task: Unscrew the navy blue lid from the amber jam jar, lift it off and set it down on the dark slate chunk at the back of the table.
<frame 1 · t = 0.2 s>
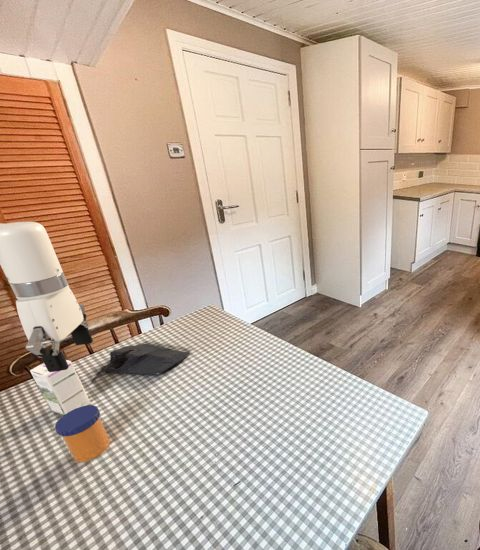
hand: (72, 356, 67), 22 cm above the table, tool pointing down, fingers open, 9 cm apart
lid: (77, 418, 66), point 9 cm above the table, screwed on, not yet turned
syrup box: (72, 409, 81), on the table
dark slate chunk: (148, 363, 99), on the table
jar: (92, 449, 70), on the table
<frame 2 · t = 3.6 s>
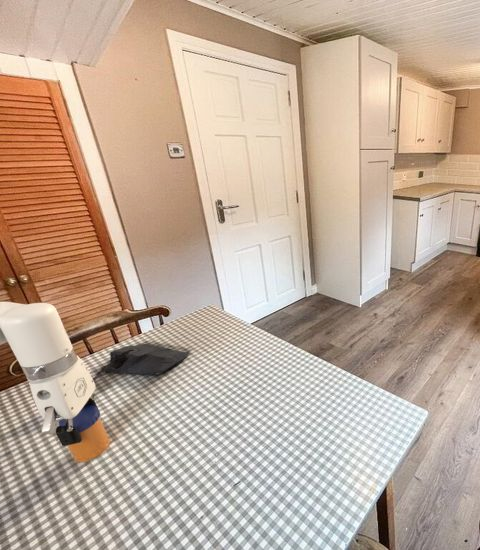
hand: (82, 428, 67), 7 cm above the table, tool pointing down, fingers closed on lid, 7 cm apart
lid: (77, 418, 66), point 9 cm above the table, screwed on, not yet turned, touching gripper
everything else where it was.
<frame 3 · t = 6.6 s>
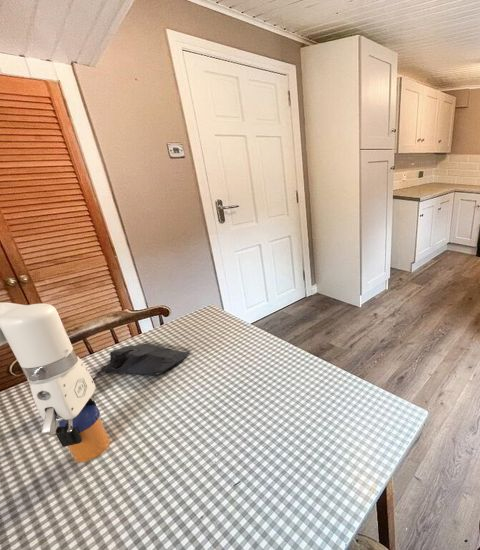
hand: (82, 428, 67), 6 cm above the table, tool pointing down, fingers closed on lid, 7 cm apart
lid: (77, 418, 66), point 10 cm above the table, turned 75° so far, risen 0.1 cm, still on its thread, touching gripper
everything else where it was.
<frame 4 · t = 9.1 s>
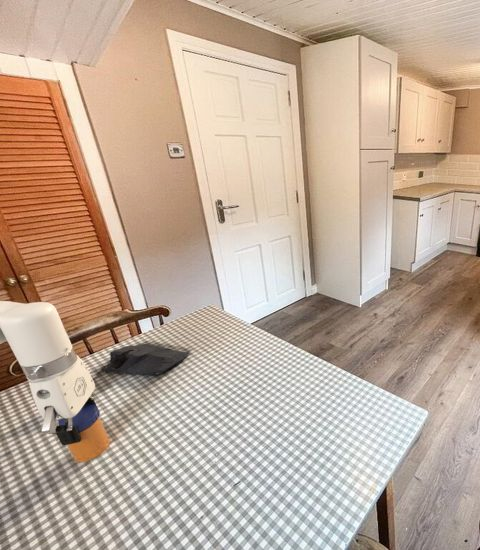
hand: (81, 427, 67), 7 cm above the table, tool pointing down, fingers closed on lid, 7 cm apart
lid: (77, 417, 66), point 10 cm above the table, turned 150° so far, risen 0.2 cm, still on its thread, touching gripper
everything else where it was.
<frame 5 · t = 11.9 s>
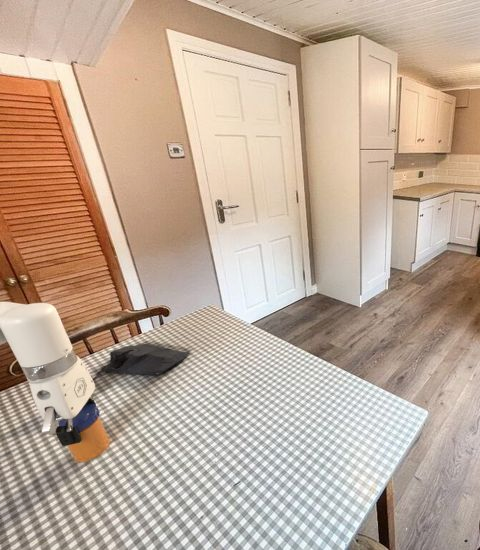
hand: (81, 428, 67), 7 cm above the table, tool pointing down, fingers closed on lid, 7 cm apart
lid: (76, 417, 66), point 10 cm above the table, turned 225° so far, risen 0.3 cm, still on its thread, touching gripper
everything else where it was.
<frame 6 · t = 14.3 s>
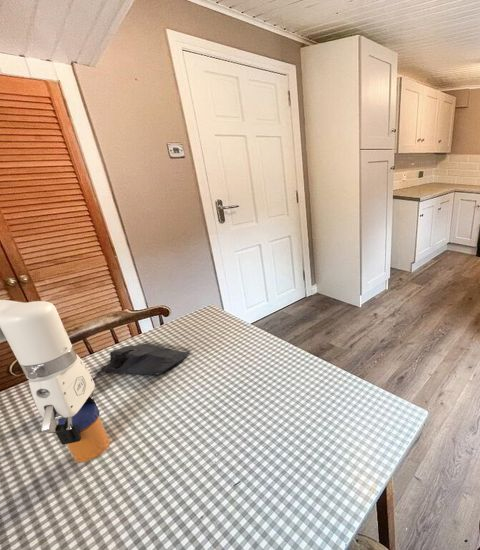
hand: (81, 426, 67), 7 cm above the table, tool pointing down, fingers closed on lid, 7 cm apart
lid: (76, 416, 66), point 10 cm above the table, turned 300° so far, risen 0.4 cm, still on its thread, touching gripper
everything else where it was.
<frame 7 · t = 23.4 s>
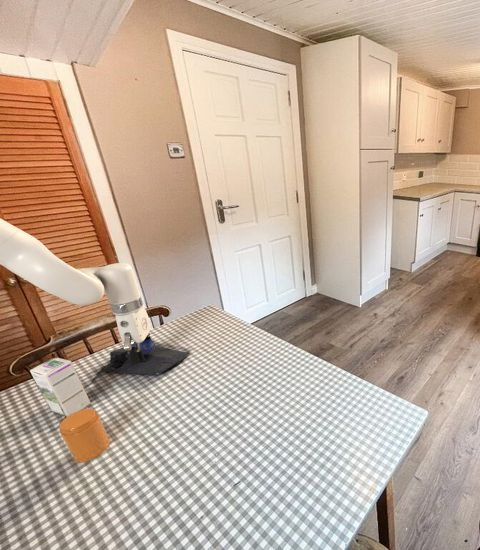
hand: (143, 354, 96), 4 cm above the table, tool pointing down, fingers closed on lid, 7 cm apart
lid: (140, 346, 95), point 7 cm above the table, off its thread, touching gripper
everything else where it was.
when the fingers open (6 cm above the table, at t = 38.2 s): lid drops 3 cm, resting on dark slate chunk.
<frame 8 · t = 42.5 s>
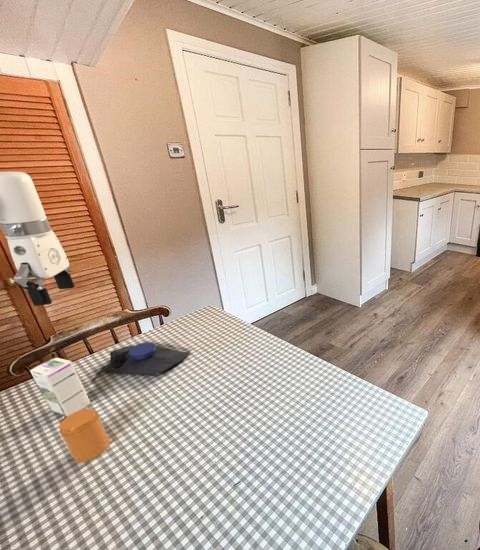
hand: (56, 295, 76), 30 cm above the table, tool pointing down, fingers open, 9 cm apart
lid: (142, 349, 95), point 6 cm above the table, off its thread, touching dark slate chunk
dark slate chunk: (148, 363, 98), on the table, touching lid
everything else where it was.
at the end: lid came off its thread; lid inside the target area on the dark slate chunk (1.0 cm from its centre), point 6.1 cm above the dark slate chunk's base; the gripper is holding nothing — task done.
